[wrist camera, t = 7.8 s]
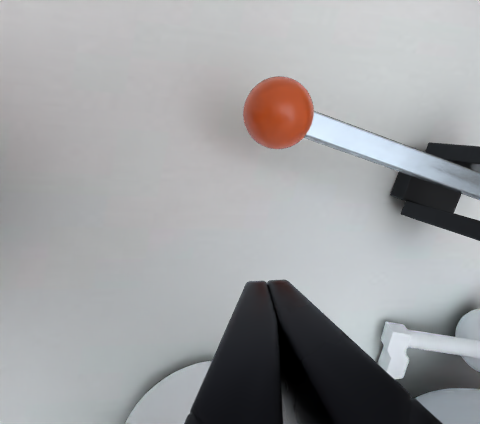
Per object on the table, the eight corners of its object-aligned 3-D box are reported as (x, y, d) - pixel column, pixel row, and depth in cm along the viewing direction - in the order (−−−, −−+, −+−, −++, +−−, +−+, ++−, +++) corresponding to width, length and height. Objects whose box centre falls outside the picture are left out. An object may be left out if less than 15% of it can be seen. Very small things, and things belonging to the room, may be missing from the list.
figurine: (516, 299, 31) (377, 277, 30) (572, 337, 25) (404, 311, 25) (484, 379, 33) (354, 358, 32) (530, 430, 27) (374, 406, 27)
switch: (230, 136, 17) (240, 135, 14) (250, 73, 16) (264, 58, 14) (527, 237, 21) (584, 253, 18) (550, 187, 20) (612, 195, 17)
